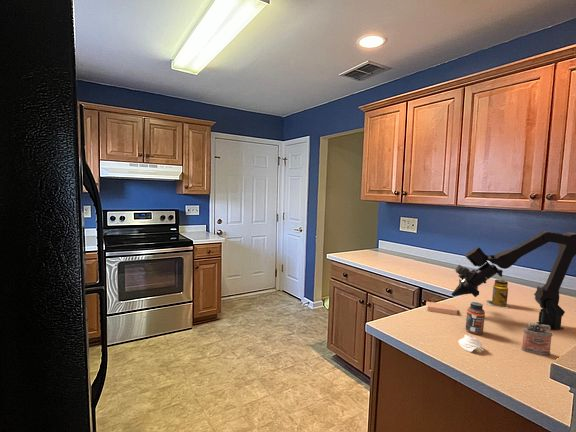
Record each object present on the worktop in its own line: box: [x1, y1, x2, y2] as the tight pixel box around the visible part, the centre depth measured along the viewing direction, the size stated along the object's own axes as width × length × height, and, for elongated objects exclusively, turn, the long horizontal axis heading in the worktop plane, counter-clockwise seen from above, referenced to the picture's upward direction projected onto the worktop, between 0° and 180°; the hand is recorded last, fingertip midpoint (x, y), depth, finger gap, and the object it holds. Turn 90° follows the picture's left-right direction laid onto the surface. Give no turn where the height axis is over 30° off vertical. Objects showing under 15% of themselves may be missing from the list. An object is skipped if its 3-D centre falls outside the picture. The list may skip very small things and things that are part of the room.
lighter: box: [520, 322, 553, 357], centre depth 108 cm, size 8×3×10 cm, turn 69°
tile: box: [425, 301, 458, 316], centre depth 145 cm, size 2×7×12 cm
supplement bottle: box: [465, 301, 486, 335], centre depth 123 cm, size 6×6×11 cm
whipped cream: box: [457, 334, 485, 353], centre depth 110 cm, size 8×7×5 cm
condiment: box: [486, 279, 509, 309], centre depth 154 cm, size 7×8×12 cm
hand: (452, 295), depth 143 cm, fingers closed
